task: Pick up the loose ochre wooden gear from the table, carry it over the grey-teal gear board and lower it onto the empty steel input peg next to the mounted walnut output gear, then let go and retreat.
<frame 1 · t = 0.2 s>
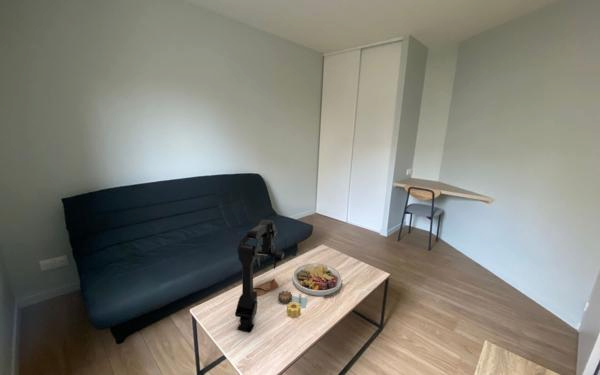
hand: (266, 267, 136), 14 cm above the table, fingers open, 9 cm apart
gear board: (292, 302, 129), on the table
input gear: (293, 314, 121), on the table
sunglasses case: (265, 292, 139), on the table
bowl: (316, 283, 148), on the table
output gear: (285, 299, 130), resting on gear board
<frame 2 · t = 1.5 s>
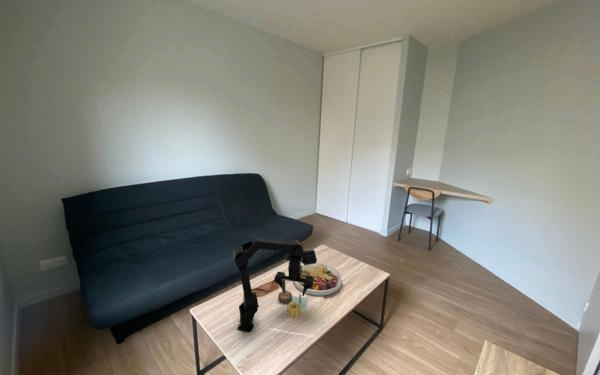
hand: (293, 294, 118), 11 cm above the table, fingers open, 9 cm apart
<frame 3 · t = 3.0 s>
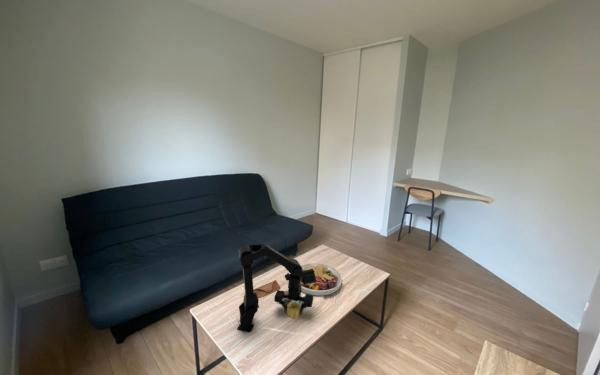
hand: (293, 313, 120), 1 cm above the table, fingers closed on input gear, 7 cm apart
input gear: (293, 314, 121), on the table, touching gripper
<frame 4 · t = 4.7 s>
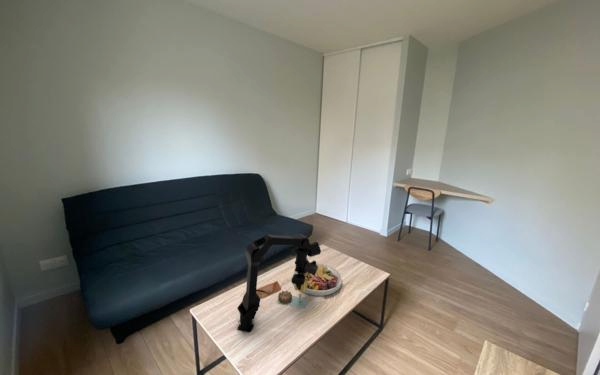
hand: (300, 285, 126), 11 cm above the table, fingers closed on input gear, 7 cm apart
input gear: (300, 287, 126), point 10 cm above the table, touching gripper
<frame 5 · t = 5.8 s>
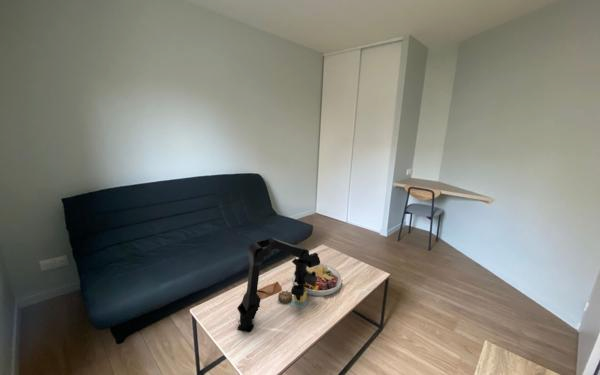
hand: (300, 296, 128), 5 cm above the table, fingers closed on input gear, 7 cm apart
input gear: (300, 297, 128), point 4 cm above the table, touching gripper
when the fingers open (4 cm above the table, at t = 6.6 s): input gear drops 1 cm, resting on gear board.
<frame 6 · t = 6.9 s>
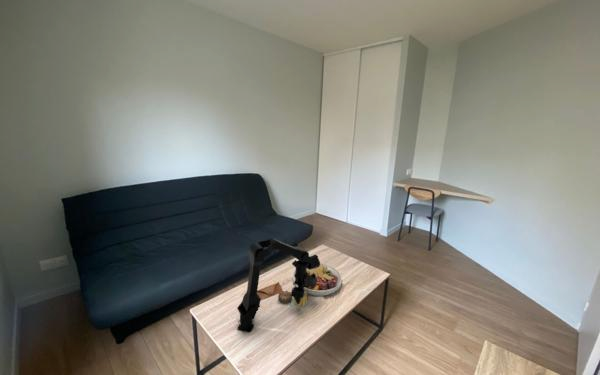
hand: (300, 298, 128), 4 cm above the table, fingers open, 9 cm apart
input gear: (299, 302, 128), point 1 cm above the table, touching gear board
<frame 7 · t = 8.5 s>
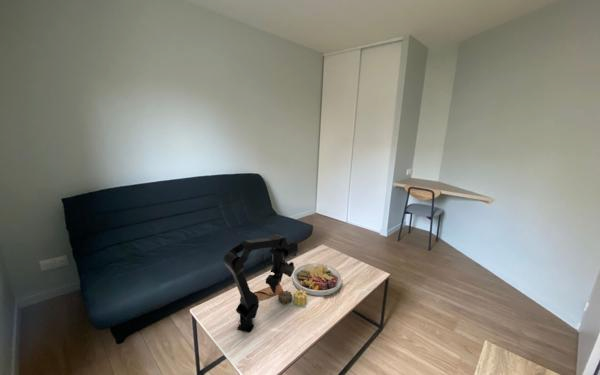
hand: (277, 287, 124), 12 cm above the table, fingers open, 9 cm apart
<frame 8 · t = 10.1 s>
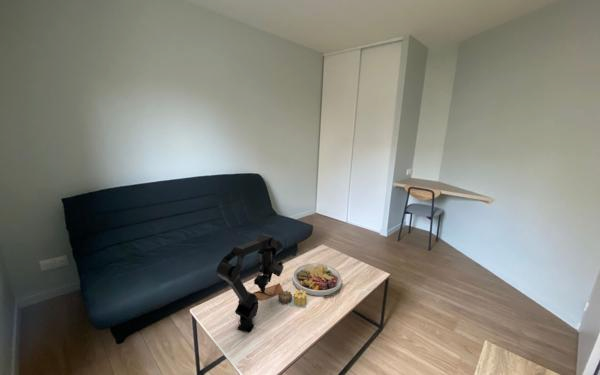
hand: (266, 287, 123), 12 cm above the table, fingers open, 9 cm apart
at the end: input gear 0.1 cm from the target spot on the gear board, point 1.2 cm above the gear board's base; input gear tilted 0°; the gripper is holding nothing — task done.
